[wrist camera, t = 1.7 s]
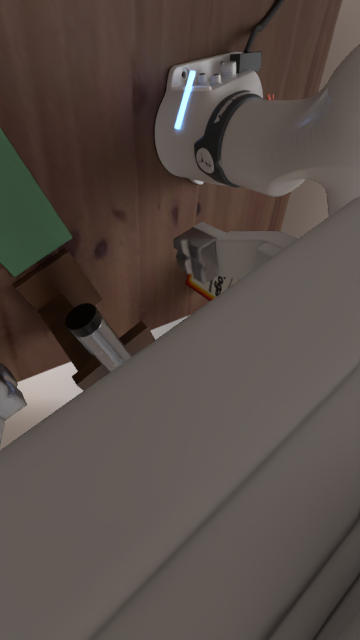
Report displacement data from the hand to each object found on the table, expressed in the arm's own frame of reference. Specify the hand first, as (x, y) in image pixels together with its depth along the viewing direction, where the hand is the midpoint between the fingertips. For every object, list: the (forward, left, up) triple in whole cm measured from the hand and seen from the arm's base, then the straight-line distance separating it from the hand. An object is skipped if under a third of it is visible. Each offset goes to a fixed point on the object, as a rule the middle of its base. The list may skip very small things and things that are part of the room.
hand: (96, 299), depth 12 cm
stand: (+1, +25, -38) cm, 46 cm away
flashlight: (+1, +21, -14) cm, 25 cm away
